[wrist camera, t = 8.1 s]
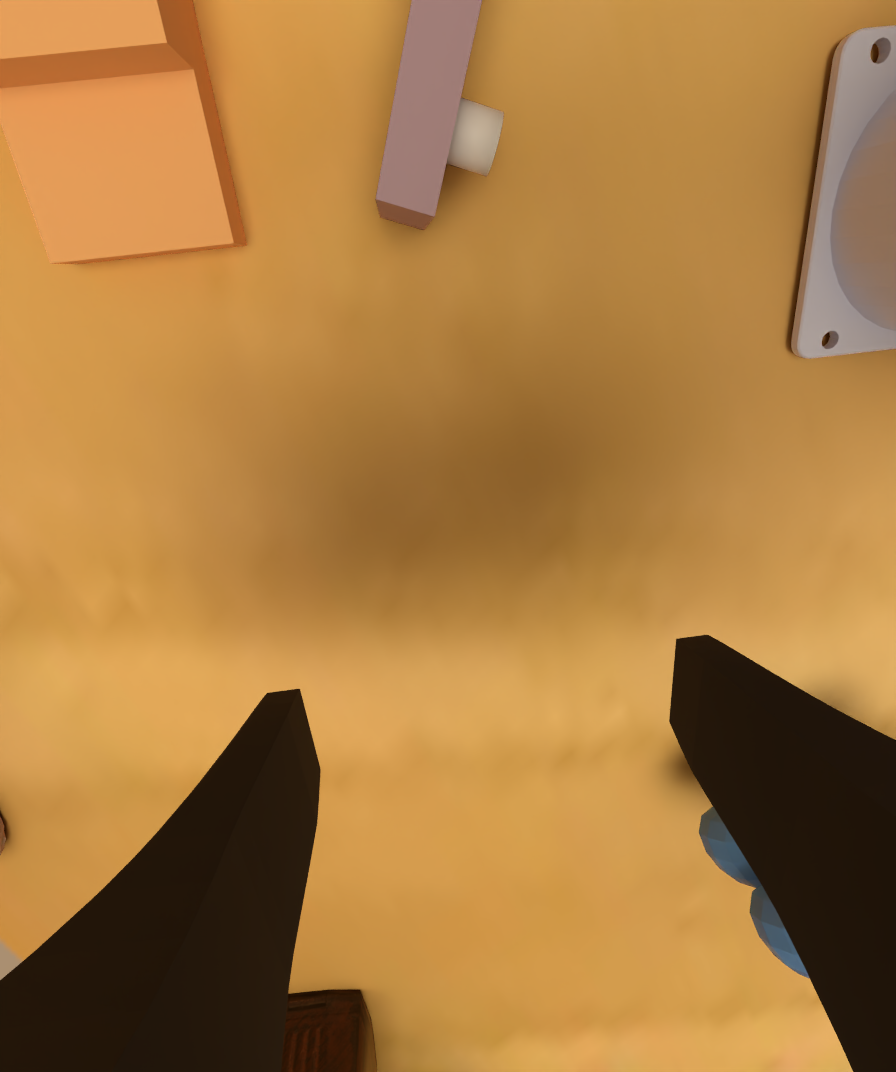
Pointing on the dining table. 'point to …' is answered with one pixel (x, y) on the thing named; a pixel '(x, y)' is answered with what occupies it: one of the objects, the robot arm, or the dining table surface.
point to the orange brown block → (115, 128)
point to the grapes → (738, 868)
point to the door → (434, 113)
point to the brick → (2, 836)
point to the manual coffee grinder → (328, 1033)
